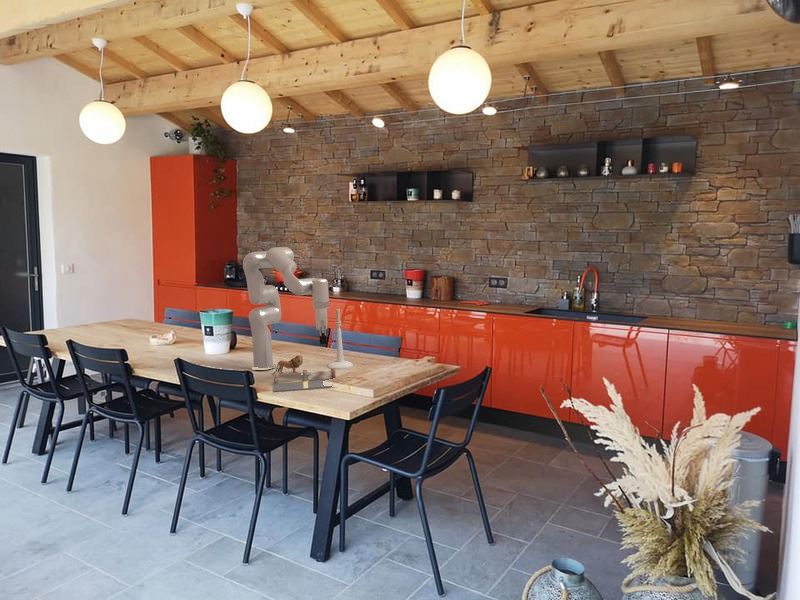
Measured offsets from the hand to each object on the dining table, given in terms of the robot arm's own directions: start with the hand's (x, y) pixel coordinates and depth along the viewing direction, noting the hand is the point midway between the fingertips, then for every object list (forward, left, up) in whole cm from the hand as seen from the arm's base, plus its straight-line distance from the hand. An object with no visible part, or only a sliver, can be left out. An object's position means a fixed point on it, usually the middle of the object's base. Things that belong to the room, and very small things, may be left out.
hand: (323, 343), depth 272 cm
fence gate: (+6, -2, -15) cm, 16 cm away
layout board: (+7, -9, -16) cm, 20 cm away
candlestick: (-22, +9, -16) cm, 29 cm away
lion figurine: (-14, -17, -16) cm, 27 cm away
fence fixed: (+6, -16, -16) cm, 23 cm away
